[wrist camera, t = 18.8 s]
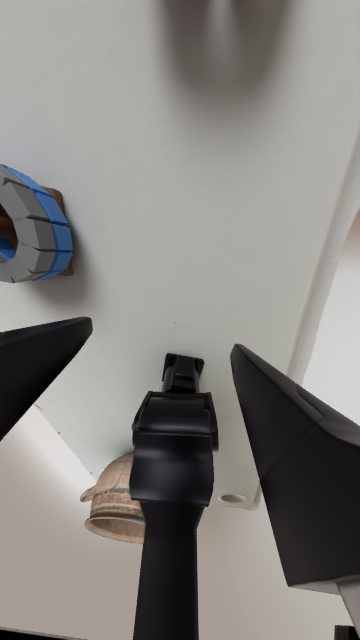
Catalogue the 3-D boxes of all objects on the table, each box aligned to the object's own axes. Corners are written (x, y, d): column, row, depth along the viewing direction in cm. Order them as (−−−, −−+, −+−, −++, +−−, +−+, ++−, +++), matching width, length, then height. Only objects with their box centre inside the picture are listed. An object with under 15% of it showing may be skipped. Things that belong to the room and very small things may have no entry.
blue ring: (78, 283, 19) (66, 286, 18) (0, 269, 19) (-20, 270, 17) (63, 182, 15) (46, 172, 13) (-39, 162, 15) (-71, 150, 13)
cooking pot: (108, 468, 45) (81, 537, 34) (92, 433, 37) (50, 510, 26) (188, 475, 44) (187, 550, 33) (189, 441, 36) (189, 525, 25)
